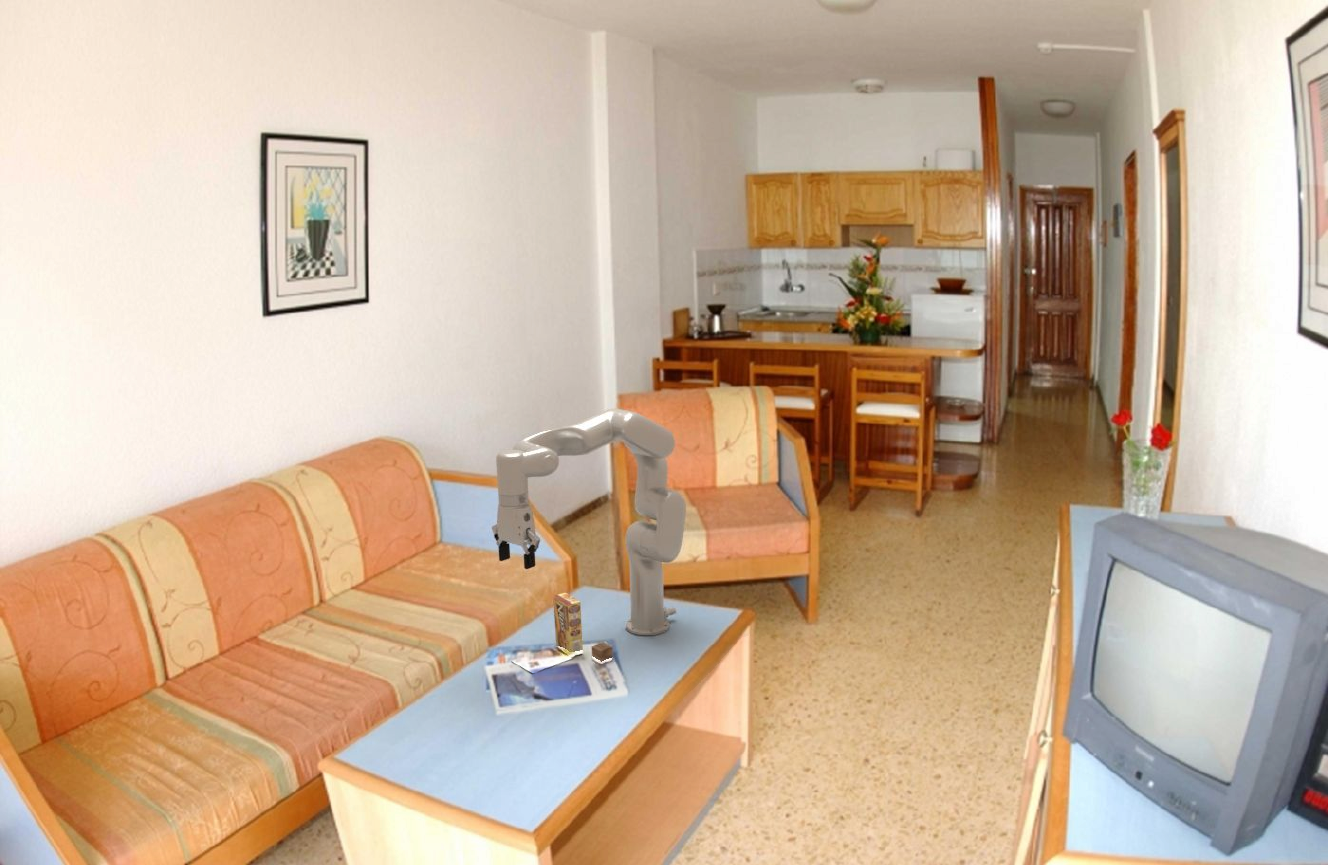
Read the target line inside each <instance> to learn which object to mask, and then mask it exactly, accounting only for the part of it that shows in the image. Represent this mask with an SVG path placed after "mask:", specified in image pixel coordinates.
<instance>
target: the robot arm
mask: <svg viewBox="0 0 1328 865" xmlns="http://www.w3.org/2000/svg"><path fill="white" fill-rule="evenodd" d="M617 441H618V442H623V444H624V445H625V447H626V448H627V450H629V451H630V452H631V454H632V455H633V456H634V459H635V462H636V465H637V477H636V486H635V493H634V494H635V495H634V509H635V512H636V513H638V515H640V516H642V517H644V518H647V519H650V520H652V521H656V523H654V522H650V521H646V520H637V521H635V522H633V523H632V524H630V525H629V526H628V528H627V530H626V532H625V538H624V540H625V541H624V542H625V548H626V551H627V556H628V562H629V564H628V565H629V592H630V593H629V594H630V619H628V620H627V621H626V622H625V629H626V631H628V632H629V633H631V634H634V635H638V636H657V635H660V634H663V633H665V632H666V631H668V629H669V628H670V620H668V619H667V618H668V617H669V616H673V615H674V614H677V610H676V608H675V607H674V606H673V607H670V608H667V607H665V606H664V604H665V603H664V601H665V600H664V567H663V563H664V564H665V563H666V564H667V563H672V562H673V561H675V560H676V559H677V558H678V556H679V555H680V552H681V549H682V546H683V539H684V530H685V523H686V514H687V508H686V507H687V506H686V501H685V498H684V496H682V494H681V493H680V492H678V491H677V490H674V489H671V488H668V473H669V472H668V469H669V468H668V462H667V458H668V457H669V456H671V454H672V453H673V451H674V449H675V446H676V443H675V442H676V440H675V436H674V435H673V433H672V432H671V431H670V430H669V429H668V428H666V427H664V426H662V425H660V424H659V423H657V422H655V421H653V420H652V419H649V418H648V417H645V415H642V414H640V413H638V412H635V411H631V410H626V409H621V408H615V407H614V408H609V409H608V408H607V409H606V410H603V411H601V412H600V413H597V414H595V415H593V416H590V417H588V418H586V419H584V420H581V421H579V422H578V423H574V424H571V425H566V426H562V427H558V428H554V429H549V430H545V431H541V432H539V433H536V434H533V435H531V436H529V437H526V438H524V439H522V440H520V441H519V442H518V443H516V444H515V445H514V446H513V447H512V449H505V450H503V451H499V452H498V453H497V455H496V457H495V458H496V459H495V463H496V478H497V495H498V496H497V498H498V504H497V515H496V516H497V517H496V524H495V525H493V526H491V530H492V533H493V538H494V539H495V541H496V545H497V547H498V560H499V562H503V561H507V560H509V559H510V558H511V548H510V544H512V545H517V546H521V548H522V549H523V552H524V553H523V566H524V567H523V568H524V570H529V569H532V568H534V567H536V552H537V549H538V548H539V545H540V542H541V538H540V537H539V536H538V534H536V526H535V518H534V513H533V509H532V505H531V504H530V503H529V502H530V496H529V480H528V479H530V478H541V477H547V476H550V475H552V474H554V473H555V472H556V470H557V469H558V467H559V465H560V464H559V463H560V459H559V456H560V457H561V456H565V457H566V456H568V457H569V456H570V457H572V456H573V457H574V456H575V457H576V456H585V455H589V454H590V453H593V452H594V451H597V450H599V449H601V448H603V447H605V446H607V445H609V444H611V443H614V442H617Z"/></svg>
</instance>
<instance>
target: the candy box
mask: <svg viewBox="0 0 1328 865" xmlns="http://www.w3.org/2000/svg"><path fill="white" fill-rule="evenodd" d="M552 597H553V598H552V599H553V616H554V633H555V647H556V646H560V647H563V648H565V649H567V650H568V651H569V652H575V651H580V650H584V648H583V630H582V628H583V624H582V608H581V601H579V600H578V599H576V598H575V597H574V596H572V595H570V594H568V593H567V592H562V593H559V594H555V595H553V596H552Z"/></svg>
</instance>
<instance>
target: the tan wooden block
mask: <svg viewBox="0 0 1328 865" xmlns="http://www.w3.org/2000/svg"><path fill="white" fill-rule="evenodd" d="M613 649H614V646H612V645H610V644H608V643H606V642H604V641H603V642H601V643H597V644H594V645H592V646H591V657H592V656H593V657H595V658H596V659H598V660H600V661H601V662H602V661H604V660H606V659H609V658H612V657H613V658H614V650H613Z"/></svg>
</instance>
